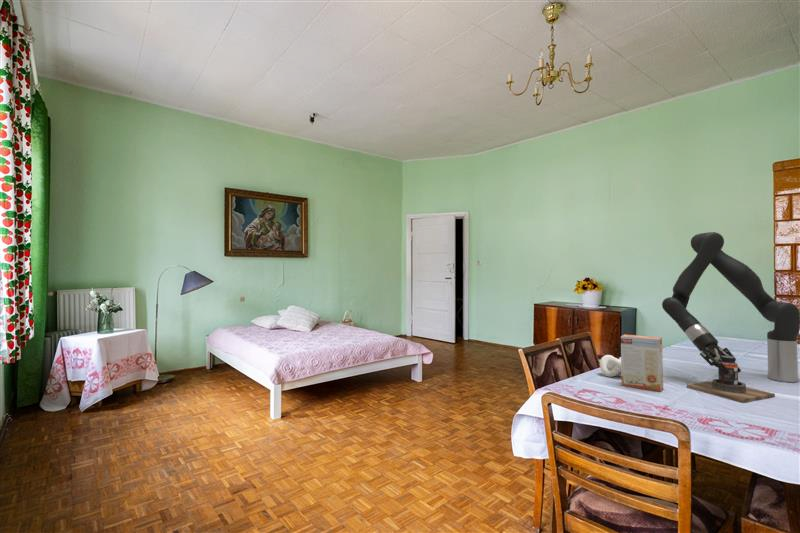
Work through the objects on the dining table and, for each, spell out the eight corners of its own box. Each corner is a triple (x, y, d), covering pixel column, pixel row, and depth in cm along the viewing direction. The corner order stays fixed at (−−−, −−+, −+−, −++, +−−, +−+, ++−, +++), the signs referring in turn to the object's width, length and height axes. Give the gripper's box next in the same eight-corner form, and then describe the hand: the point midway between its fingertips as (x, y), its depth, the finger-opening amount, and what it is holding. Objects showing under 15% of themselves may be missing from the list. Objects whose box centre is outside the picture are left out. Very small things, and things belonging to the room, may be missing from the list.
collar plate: (717, 382, 168) (717, 373, 168) (774, 396, 149) (774, 387, 149) (686, 387, 162) (686, 378, 162) (742, 402, 143) (742, 392, 143)
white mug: (638, 379, 175) (637, 358, 175) (613, 380, 173) (612, 360, 174) (620, 372, 186) (619, 353, 187) (596, 374, 185) (596, 354, 185)
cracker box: (663, 388, 161) (662, 337, 161) (660, 392, 157) (659, 339, 157) (625, 382, 171) (624, 333, 171) (621, 385, 166) (620, 335, 166)
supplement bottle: (741, 388, 152) (741, 358, 152) (724, 387, 154) (723, 358, 153) (732, 383, 158) (732, 355, 158) (715, 382, 159) (714, 354, 159)
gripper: (695, 333, 161) (728, 369, 149) (719, 330, 165) (753, 366, 154) (682, 343, 166) (713, 380, 154) (706, 341, 170) (738, 376, 159)
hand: (733, 372), depth 154 cm, fingers closed on supplement bottle, 6 cm apart
